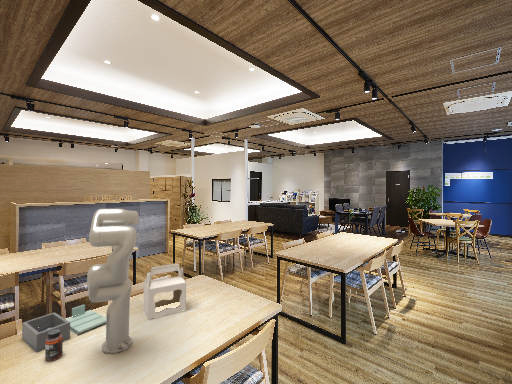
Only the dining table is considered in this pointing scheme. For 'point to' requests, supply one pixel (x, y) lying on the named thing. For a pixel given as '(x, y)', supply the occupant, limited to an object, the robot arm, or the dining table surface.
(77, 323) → the lid
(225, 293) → the dining table surface
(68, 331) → the tub
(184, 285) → the gable box
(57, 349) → the supplement bottle
